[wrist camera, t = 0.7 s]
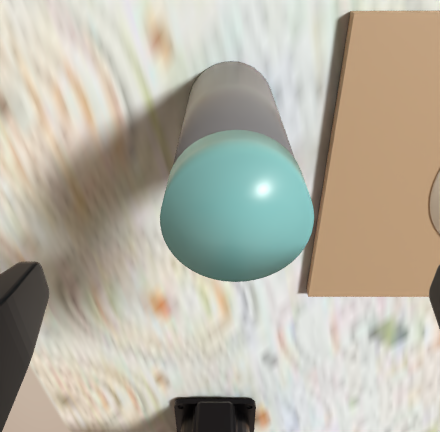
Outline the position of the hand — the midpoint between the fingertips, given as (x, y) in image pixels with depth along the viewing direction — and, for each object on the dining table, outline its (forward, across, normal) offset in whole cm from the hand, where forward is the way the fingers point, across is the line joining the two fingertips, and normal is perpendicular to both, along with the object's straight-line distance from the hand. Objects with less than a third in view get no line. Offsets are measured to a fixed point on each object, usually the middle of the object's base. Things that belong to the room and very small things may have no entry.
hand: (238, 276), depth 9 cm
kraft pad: (+12, -12, +4) cm, 17 cm away
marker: (+12, 0, 0) cm, 12 cm away
